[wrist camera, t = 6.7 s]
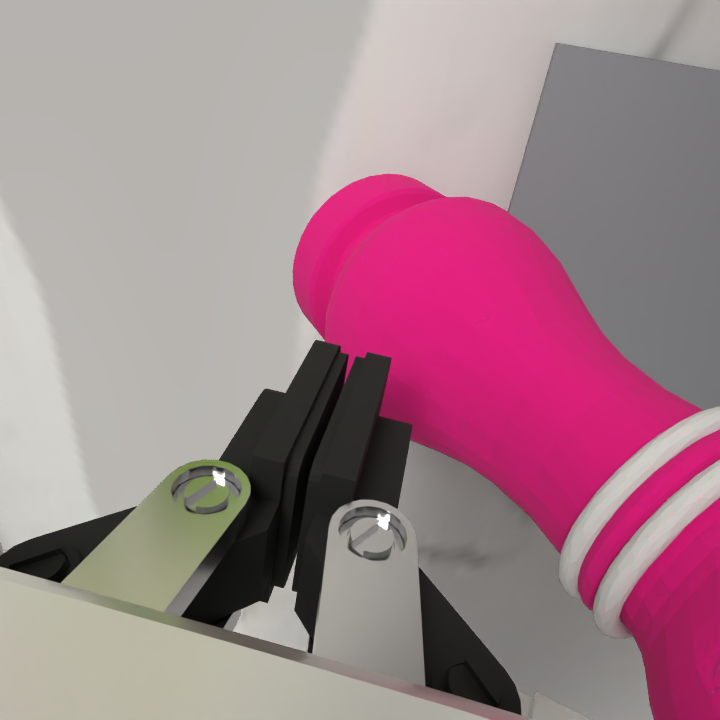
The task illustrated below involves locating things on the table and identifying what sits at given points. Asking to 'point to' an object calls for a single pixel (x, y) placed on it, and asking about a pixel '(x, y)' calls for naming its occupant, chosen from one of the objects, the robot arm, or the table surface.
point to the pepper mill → (534, 410)
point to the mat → (634, 206)
